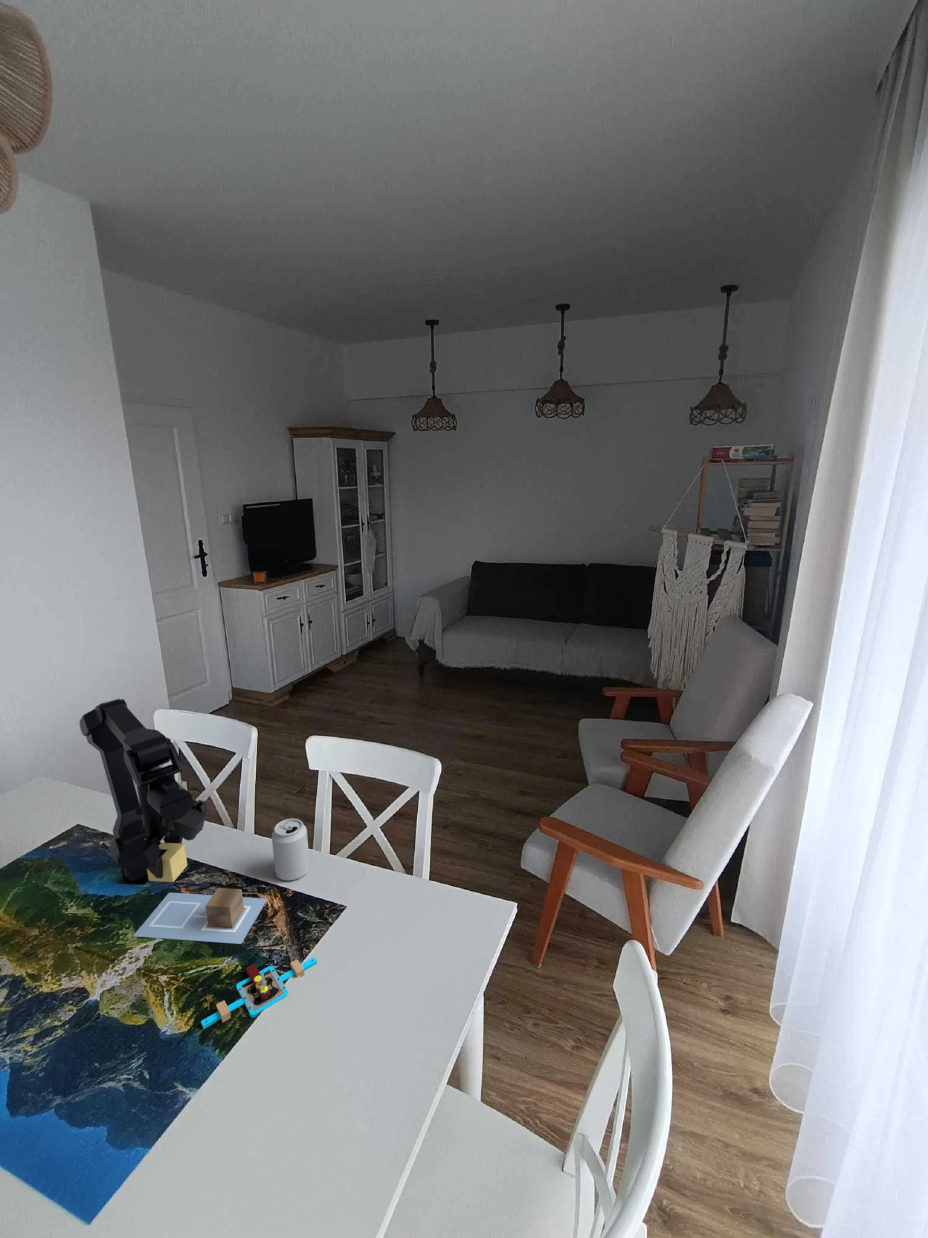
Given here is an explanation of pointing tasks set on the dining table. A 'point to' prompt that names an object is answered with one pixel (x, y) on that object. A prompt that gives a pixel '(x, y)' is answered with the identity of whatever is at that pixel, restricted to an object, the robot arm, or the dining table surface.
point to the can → (290, 849)
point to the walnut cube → (224, 908)
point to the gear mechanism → (262, 990)
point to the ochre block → (171, 862)
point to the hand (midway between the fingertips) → (167, 868)
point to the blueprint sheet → (196, 920)
